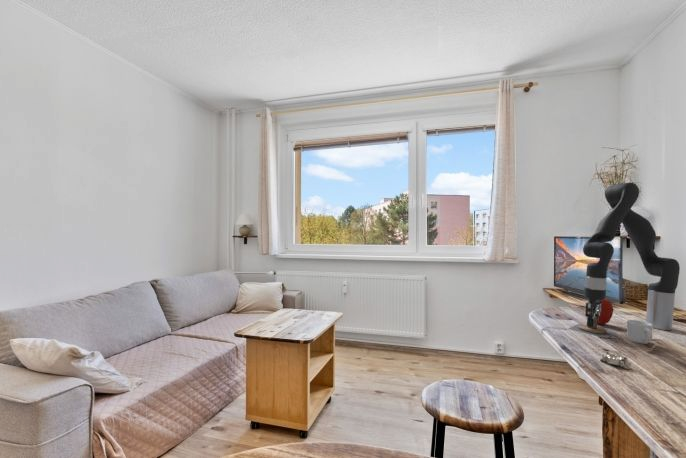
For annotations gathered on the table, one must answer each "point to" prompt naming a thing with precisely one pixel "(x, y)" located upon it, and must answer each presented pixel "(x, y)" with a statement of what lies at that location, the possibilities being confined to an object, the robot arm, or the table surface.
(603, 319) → the apple
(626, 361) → the ornament
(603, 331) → the lid
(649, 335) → the cup
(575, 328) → the mat
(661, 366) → the table surface
